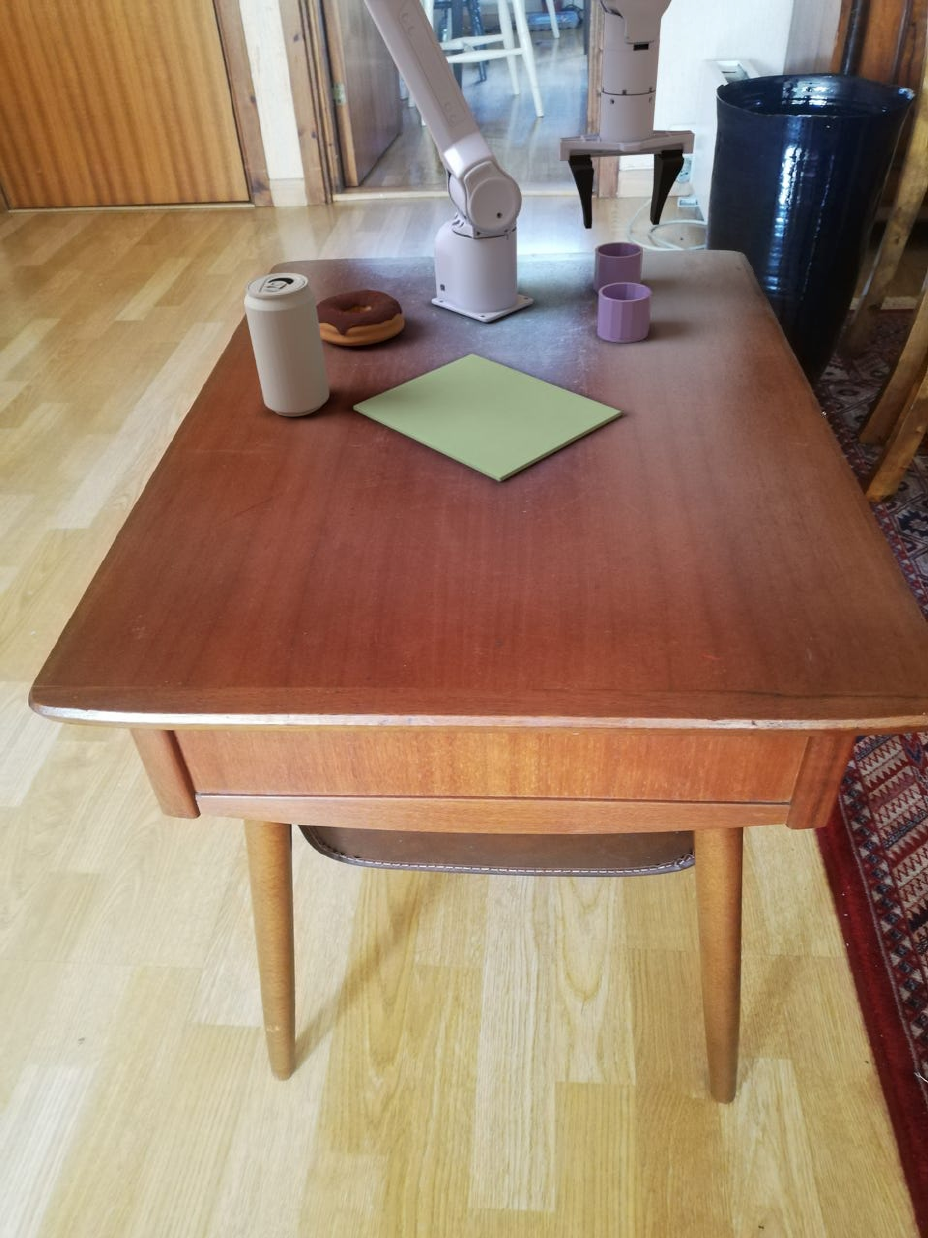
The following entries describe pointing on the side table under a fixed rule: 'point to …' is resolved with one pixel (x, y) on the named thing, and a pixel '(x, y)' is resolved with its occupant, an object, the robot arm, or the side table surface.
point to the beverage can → (287, 343)
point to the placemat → (487, 415)
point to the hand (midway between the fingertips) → (621, 224)
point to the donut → (359, 318)
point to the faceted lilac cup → (623, 312)
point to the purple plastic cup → (617, 264)
